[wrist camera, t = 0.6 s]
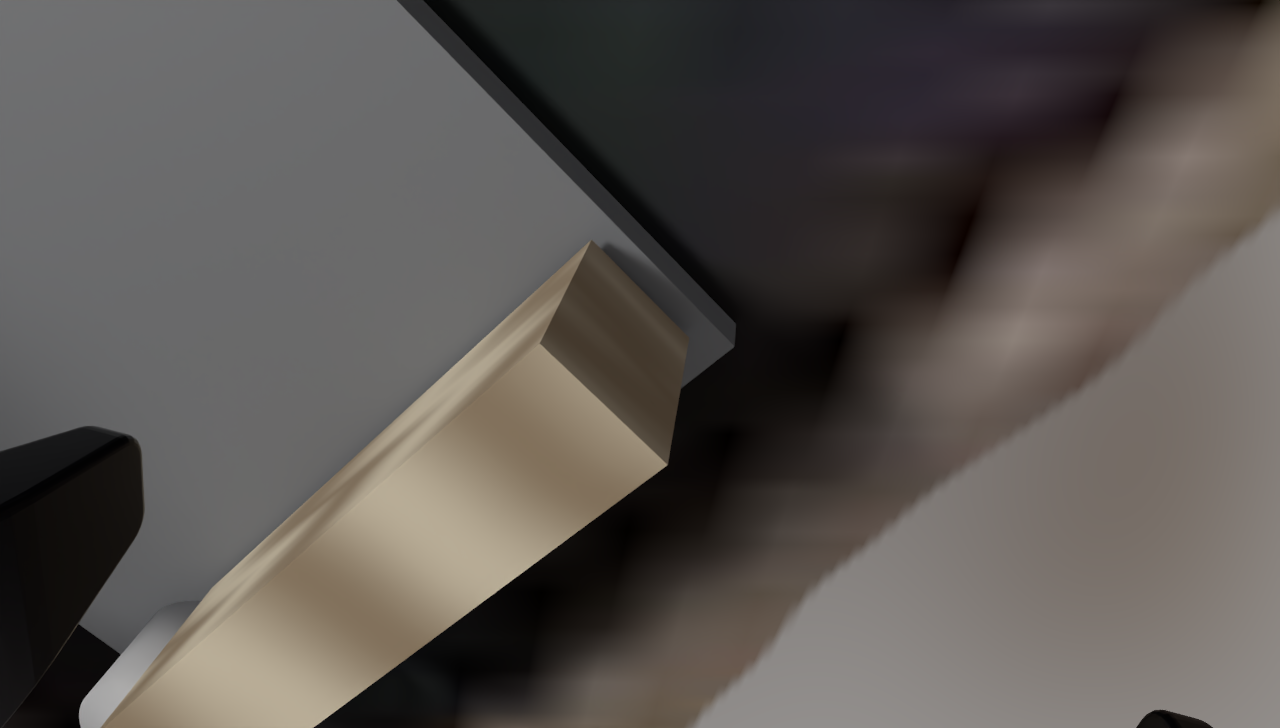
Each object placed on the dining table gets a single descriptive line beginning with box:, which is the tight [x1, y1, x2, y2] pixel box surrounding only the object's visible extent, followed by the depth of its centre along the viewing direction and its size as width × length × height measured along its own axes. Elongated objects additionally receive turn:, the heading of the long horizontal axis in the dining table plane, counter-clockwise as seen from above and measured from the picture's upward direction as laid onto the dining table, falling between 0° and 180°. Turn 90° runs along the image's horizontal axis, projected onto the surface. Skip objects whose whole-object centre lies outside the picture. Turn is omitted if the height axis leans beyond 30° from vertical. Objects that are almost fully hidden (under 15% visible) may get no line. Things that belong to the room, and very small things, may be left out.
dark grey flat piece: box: [0, 0, 736, 728], centre depth 21 cm, size 22×20×5 cm
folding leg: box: [101, 240, 689, 728], centre depth 20 cm, size 15×3×5 cm, turn 134°
